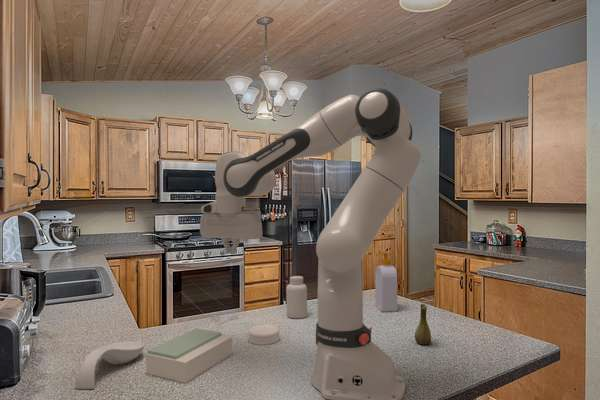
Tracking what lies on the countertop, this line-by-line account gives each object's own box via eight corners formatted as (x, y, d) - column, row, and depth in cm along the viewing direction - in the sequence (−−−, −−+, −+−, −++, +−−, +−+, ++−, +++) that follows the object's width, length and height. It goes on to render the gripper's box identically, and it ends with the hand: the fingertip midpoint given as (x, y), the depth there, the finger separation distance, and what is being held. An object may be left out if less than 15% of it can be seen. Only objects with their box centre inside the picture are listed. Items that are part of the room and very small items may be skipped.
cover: (221, 335, 115) (221, 332, 115) (175, 359, 98) (175, 356, 98) (195, 331, 119) (195, 328, 119) (147, 353, 102) (147, 350, 102)
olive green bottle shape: (426, 347, 118) (426, 307, 118) (411, 343, 121) (410, 305, 121) (434, 342, 122) (434, 304, 122) (419, 338, 125) (419, 301, 125)
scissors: (239, 315, 151) (226, 332, 131) (239, 317, 151) (226, 334, 131) (212, 314, 152) (195, 332, 132) (213, 316, 152) (195, 334, 132)
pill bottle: (294, 311, 156) (294, 274, 156) (311, 315, 152) (311, 276, 152) (282, 316, 150) (282, 277, 150) (299, 320, 145) (299, 280, 145)
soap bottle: (373, 306, 164) (373, 251, 164) (389, 305, 164) (389, 251, 164) (380, 312, 155) (380, 254, 155) (397, 311, 155) (397, 254, 155)
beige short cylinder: (242, 342, 123) (242, 331, 123) (258, 332, 132) (258, 322, 132) (269, 347, 119) (269, 336, 119) (284, 337, 128) (284, 326, 128)
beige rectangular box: (232, 353, 114) (232, 336, 114) (185, 383, 96) (185, 362, 96) (196, 346, 120) (196, 330, 120) (146, 373, 101) (146, 354, 101)
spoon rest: (112, 351, 117) (112, 327, 117) (151, 352, 116) (151, 328, 116) (61, 390, 93) (60, 360, 93) (109, 391, 93) (109, 361, 93)
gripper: (266, 206, 115) (266, 253, 115) (209, 206, 123) (210, 250, 123) (255, 207, 109) (255, 256, 109) (196, 207, 118) (197, 253, 118)
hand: (231, 253), depth 116 cm, fingers closed
